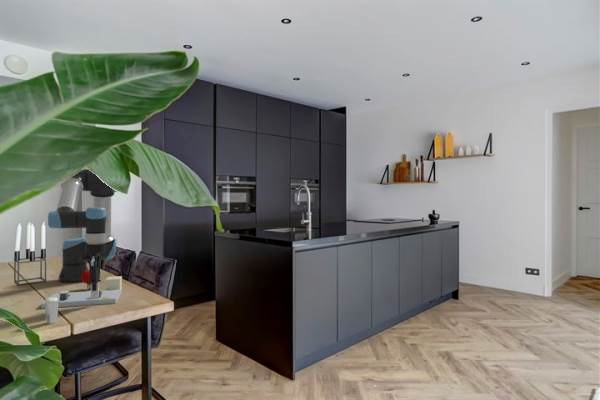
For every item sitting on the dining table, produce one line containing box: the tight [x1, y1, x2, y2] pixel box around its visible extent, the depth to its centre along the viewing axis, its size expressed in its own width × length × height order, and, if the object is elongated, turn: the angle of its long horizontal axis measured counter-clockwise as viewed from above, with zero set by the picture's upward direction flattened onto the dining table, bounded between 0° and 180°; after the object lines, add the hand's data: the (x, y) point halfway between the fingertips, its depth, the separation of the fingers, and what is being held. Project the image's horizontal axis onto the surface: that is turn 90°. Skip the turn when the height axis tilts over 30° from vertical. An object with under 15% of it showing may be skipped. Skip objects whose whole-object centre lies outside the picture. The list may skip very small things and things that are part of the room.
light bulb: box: [81, 269, 91, 291], centre depth 182 cm, size 9×7×10 cm
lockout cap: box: [104, 275, 123, 291], centre depth 178 cm, size 7×6×7 cm
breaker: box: [59, 290, 69, 300], centre depth 156 cm, size 3×2×3 cm
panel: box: [40, 289, 122, 309], centre depth 162 cm, size 17×28×2 cm, turn 109°
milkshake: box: [43, 296, 60, 325], centre depth 133 cm, size 5×5×10 cm
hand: (94, 297), depth 155 cm, fingers closed
